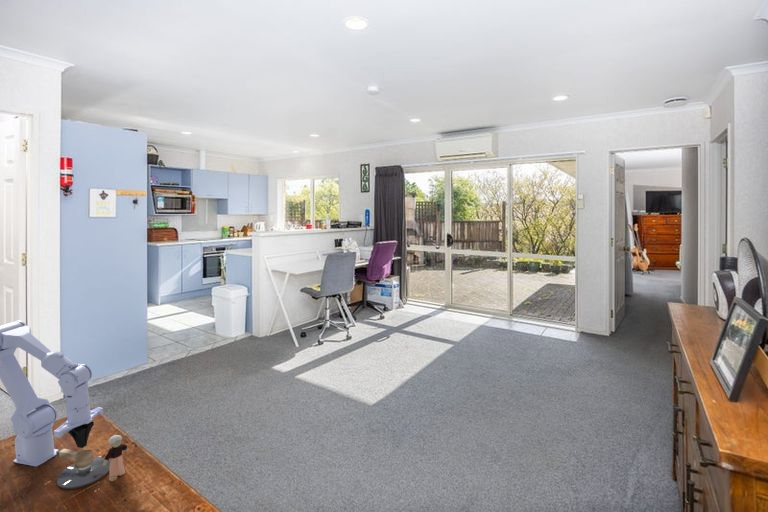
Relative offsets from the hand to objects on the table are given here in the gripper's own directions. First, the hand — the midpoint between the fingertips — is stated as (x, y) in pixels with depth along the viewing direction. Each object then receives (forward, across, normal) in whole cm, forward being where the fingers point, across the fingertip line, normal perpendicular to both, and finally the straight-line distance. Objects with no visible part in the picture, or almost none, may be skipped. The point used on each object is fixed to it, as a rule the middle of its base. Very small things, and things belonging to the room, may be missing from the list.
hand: (81, 446), depth 127 cm
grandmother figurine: (+5, -3, -16) cm, 17 cm away
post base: (+5, -5, -6) cm, 10 cm away
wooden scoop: (+1, -5, -3) cm, 6 cm away
